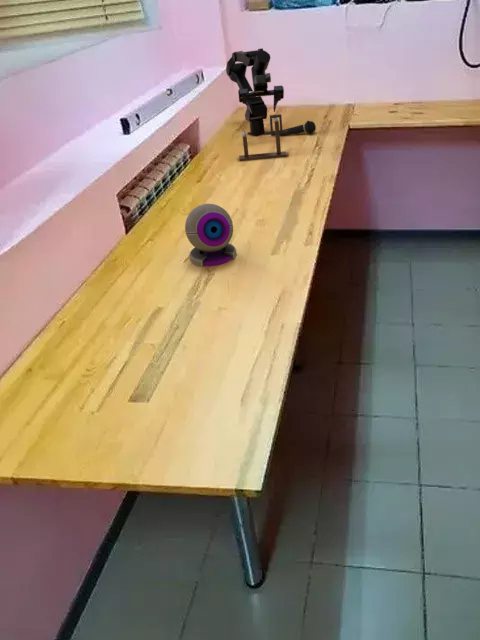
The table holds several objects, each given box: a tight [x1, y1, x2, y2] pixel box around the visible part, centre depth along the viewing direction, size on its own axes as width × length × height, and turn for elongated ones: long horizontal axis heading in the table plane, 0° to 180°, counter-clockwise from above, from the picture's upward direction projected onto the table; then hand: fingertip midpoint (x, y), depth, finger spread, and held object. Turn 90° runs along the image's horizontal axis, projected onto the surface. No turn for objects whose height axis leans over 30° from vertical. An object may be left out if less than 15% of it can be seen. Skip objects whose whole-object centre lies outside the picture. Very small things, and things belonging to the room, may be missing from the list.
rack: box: [238, 117, 288, 162], centre depth 246 cm, size 8×19×14 cm, turn 96°
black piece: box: [264, 113, 288, 136], centre depth 246 cm, size 2×9×7 cm, turn 96°
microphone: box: [270, 120, 317, 137], centre depth 273 cm, size 6×6×20 cm
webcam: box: [184, 203, 238, 267], centre depth 169 cm, size 13×13×15 cm
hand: (263, 112), depth 255 cm, fingers open, 9 cm apart
